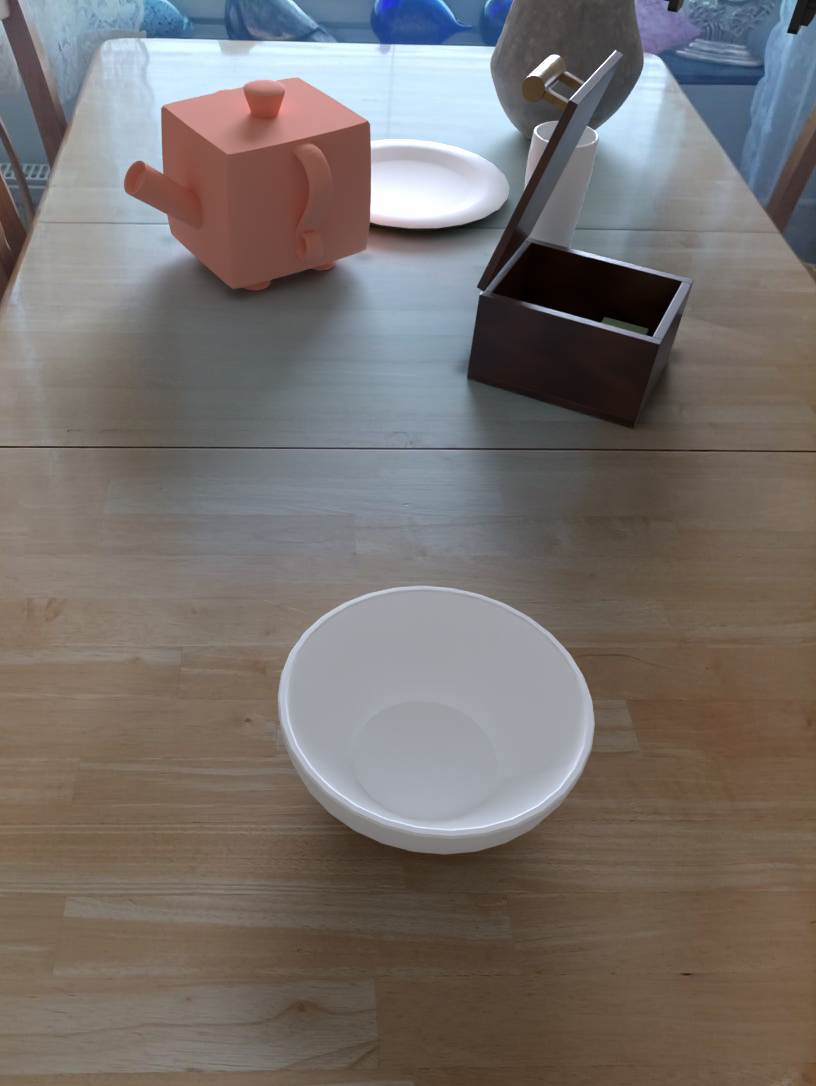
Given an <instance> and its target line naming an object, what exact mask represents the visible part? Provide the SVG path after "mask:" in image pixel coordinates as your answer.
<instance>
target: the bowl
mask: <svg viewBox="0 0 816 1086" xmlns="http://www.w3.org/2000/svg"><path fill="white" fill-rule="evenodd" d="M277 707H278V717H279V727H280V734H281V737H282V741H283V743H284V746H285V749H286V752H287V754H288V758H289V760H290V762H291V764H292V766H293V769H294V770H295V772H296V773H297V775H298V777H299V778H300V780H301V782H302V783H303V784H304V786H305V788H306V789H307V791H308V792H309V793H310V794H311V796H312V797H313V798H314V799H315V800H316V801H317V802H318V803H319V804H320V805H321V806H322V807H323V808H324V809H325V810H326V812H327V813H329V814H330V815H331V816H333V817H334V818H335V819H337V820H338V821H339V822H341V823H342V824H344V825H346V826H347V827H348V828H349V829H351V830H353V831H354V832H356V833H359V834H361V835H363V836H365V837H367V838H369V839H372V840H373V841H376V842H378V843H380V844H382V845H387V846H390V847H393V848H398V849H402V850H406V851H409V852H413V853H424V854H433V855H434V854H437V855H454V854H465V853H476V852H480V851H483V850H487V849H491V848H494V847H497V846H500V845H505V844H507V843H509V842H511V841H513V840H515V839H517V838H519V837H520V836H522V835H524V834H526V833H528V832H530V831H532V830H533V829H534V828H536V827H537V826H538V825H539V824H540V823H541V822H542V821H544V820H545V819H546V818H547V817H548V816H549V815H551V814H552V813H554V812H555V810H556V809H558V807H560V806H561V805H562V803H563V802H564V801H565V800H566V798H567V796H568V795H569V794H570V792H571V791H572V790H573V789H574V787H575V786H576V784H577V783H578V781H579V779H580V778H581V776H582V774H583V772H584V769H585V766H586V764H587V762H588V760H589V757H590V755H591V753H592V749H593V744H594V743H593V741H594V733H595V726H596V722H595V721H596V720H595V713H594V705H593V699H592V695H591V693H590V689H589V687H588V684H587V682H586V678H585V676H584V675H583V673H582V671H581V670H580V667H579V666H578V665H577V663H576V661H575V659H574V658H573V656H572V655H571V654H570V653H569V651H568V650H567V649H566V648H565V647H564V646H563V645H562V644H561V643H560V642H559V641H558V640H557V638H555V636H554V635H553V634H552V633H551V632H550V631H548V630H547V629H546V628H544V626H542V625H540V624H539V623H538V622H536V621H535V620H534V619H533V618H532V617H530V616H529V615H527V614H524V613H523V612H521V611H519V610H517V609H516V608H514V607H512V606H510V605H508V604H507V603H504V602H502V601H499V600H496V599H494V598H491V597H488V596H485V595H483V594H480V593H477V592H472V591H467V590H462V589H459V588H454V587H445V586H433V585H414V586H397V587H392V588H387V589H382V590H378V591H373V592H369V593H366V594H364V595H361V596H359V597H356V598H353V599H351V600H348V601H346V602H344V603H341V604H340V605H339V606H336V607H335V608H333V609H332V610H330V611H329V612H326V613H325V614H324V615H322V616H321V617H320V618H319V619H318V620H316V622H314V623H313V624H312V625H311V626H310V627H309V628H308V629H306V630H305V631H304V632H303V634H302V635H301V637H300V638H299V639H298V641H297V642H296V643H295V645H294V646H293V647H292V649H291V651H290V652H289V654H288V656H287V659H286V662H285V664H284V665H283V669H282V671H281V673H280V679H279V686H278V693H277Z"/></svg>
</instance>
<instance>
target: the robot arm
mask: <svg viewBox="0 0 816 1086" xmlns="http://www.w3.org/2000/svg"><path fill="white" fill-rule="evenodd" d="M662 1H664V2H668V4H667V12H670V13H678V12H680V10H681V9H682V7H683V5H684V2H685V0H662ZM815 16H816V0H796V4H795V6H794V9H793V12H792V15H791V18H790V20H789V24H788V28H787V31H786V34H789V35H794V36H795V35H798V34H799V32H800V31H801V28H802V26H803V27H809V26H810V24H811V22H812V21H813V20H814V19H815V18H816V17H815Z"/></svg>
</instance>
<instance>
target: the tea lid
mask: <svg viewBox="0 0 816 1086" xmlns="http://www.w3.org/2000/svg"><path fill="white" fill-rule="evenodd" d="M622 57H623V54H621V53H620V52H618V51H615V52H614V53H613V54H612V55H611V56H610V57H609V58H608V59H607V60H606V61H605V62H604V64H603V65H602V66H601V67H600V68H599V69H598V70H597V71H596V72H595V73H594V74H593V75H592V76H591V77H590V78H589V79H588V81H587V82H586V83H585V82H584V81H582V80H580V79H578V78H577V77H575V76H573V75H572V74H570V73H568V72H567V71H566V64H565V62H564V60H563V59H562V58H561V57H560V56H557V55H552V56H550V57H548V58H547V59H546V60H545V61H544V62H543V63H542V64H541V65H539V66H538V67H537V68H536V69H535V70H534V71H533V72H532V73H531V74H530V75H529V76H528V77H527V78H526V79H525V80H524V81H523V83H522V88H521V90H522V95H523V97H524V98H525V99H526V100H527V101H529V102H533V103H534V102H538V101H540V100H541V99H543V100H545V101H547V102H548V103H550V104H552V105H553V106H555V107H557V108H558V109H560V110H562V111H563V113H562V115H561V117H560V119H559V122H558V124H557V126H556V128H555V130H554V132H553V134H552V136H551V138H550V140H549V142H548V144H547V146H546V148H545V150H544V152H543V154H542V156H541V158H540V160H539V162H538V164H537V166H536V168H535V170H534V172H533V174H532V176H531V178H530V180H529V182H528V184H527V186H526V188H525V190H524V189H523V193H522V194H521V196H520V198H519V201H518V202H517V205H516V207H515V208H514V210H513V212H512V214H511V217H510V219H509V221H508V222H507V225H506V226H505V229H504V230H503V233H502V234H501V237H500V239H499V240H498V243H497V245H496V247H495V248H494V251H493V253H492V255H491V257H490V258H489V261H488V263H487V265H486V267H485V269H484V271H483V272H482V275H481V278H480V279H479V281H478V284H477V286H476V288H477V289H478V290H480V291H481V292H482V291H483V292H484V291H485V290H486V288H487V287H488V286H489V285H490V283H491V282H492V281H493V280H494V279H495V277H496V276H497V275H498V274H499V272H500V271H501V270H502V269H503V267H504V266H505V265H506V264H507V262H508V261H509V260H510V259H511V257H512V256H513V255H514V254H515V253H516V251H517V250H518V249H519V248H520V246H521V245H522V244H523V243H524V241H525V240H526V239H527V238H528V236H529V235H530V234H531V232H532V230H533V228H534V226H535V224H536V222H537V221H538V219H539V217H540V215H541V213H542V211H543V209H544V207H545V205H546V203H547V201H548V199H549V197H550V196H551V194H552V192H553V190H554V188H555V186H556V184H557V182H558V180H559V178H560V176H561V174H562V173H563V171H564V169H565V167H566V165H567V163H568V161H569V159H570V157H571V155H572V153H573V151H574V150H575V148H576V146H577V144H578V142H579V140H580V138H581V136H582V134H583V132H584V130H585V128H586V127H587V125H588V123H589V121H590V119H591V117H592V115H593V113H594V111H595V109H596V107H597V105H598V104H599V102H600V100H601V98H602V96H603V94H604V92H605V90H606V88H607V86H608V84H609V82H610V80H611V79H612V77H613V75H614V73H615V71H616V69H617V67H618V65H619V63H620V61H621V59H622ZM559 81H560V82H562V83H564V84H565V85H567V86H569V87H570V88H572V89H574V90H575V91H577V92H576V93H575V94H574V95H573V97H572V98H571V99H570V100H568V99H566V98H564V97H563V96H561V95H559V94H558V93H556V92H554V91H553V90H551V89H552V88H553V87H554V86H555V85H556V84H557V83H558V82H559Z"/></svg>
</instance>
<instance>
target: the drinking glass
mask: <svg viewBox="0 0 816 1086" xmlns="http://www.w3.org/2000/svg"><path fill="white" fill-rule="evenodd" d="M558 122H559V121H550V122H545V123H542V124H540V125H538V126H537V127H536V128H535V129H534V132H533V137H532V140H531V142H530V146H529V151H528V155H527V161H526V169H525V177H524V188H523V191H524V190H525V188H526V186H527V184H528V182H529V180H530V178H531V176H532V174H533V172H534V170H535V168H536V166H537V164H538V162H539V160H540V158H541V156H542V154H543V152H544V150H545V148H546V146H547V144H548V142H549V140H550V138H551V136H552V134H553V132H554V130H555V128H556V126H557V124H558ZM599 141H600V136H599V134H598V132H597V131H596V130H595V131H594V130H593V129H592V128H590V127H588V126H587V127H586V128H585V130H584V132H583V134H582V136H581V138H580V140H579V142H578V144H577V146H576V148H575V150H574V151H573V153H572V155H571V157H570V159H569V161H568V163H567V165H566V167H565V169H564V171H563V173H562V174H561V176H560V178H559V180H558V182H557V184H556V186H555V188H554V190H553V192H552V194H551V196H550V197H549V199H548V201H547V203H546V205H545V207H544V209H543V211H542V213H541V215H540V217H539V219H538V221H537V222H536V224H535V226H534V228H533V230H532V232H531V234H530V235H529V236H528V237H529V238H532V239H536V240H540V241H544V242H548V243H552V244H556V245H560V246H564V247H568V248H571V243H572V241H573V237H574V234H575V231H576V228H577V224H578V222H579V218H580V215H581V212H582V209H583V206H584V203H585V199H586V196H587V193H588V190H589V186H590V183H591V179H592V176H593V171H594V167H595V163H596V158H597V152H598V146H599Z"/></svg>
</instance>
